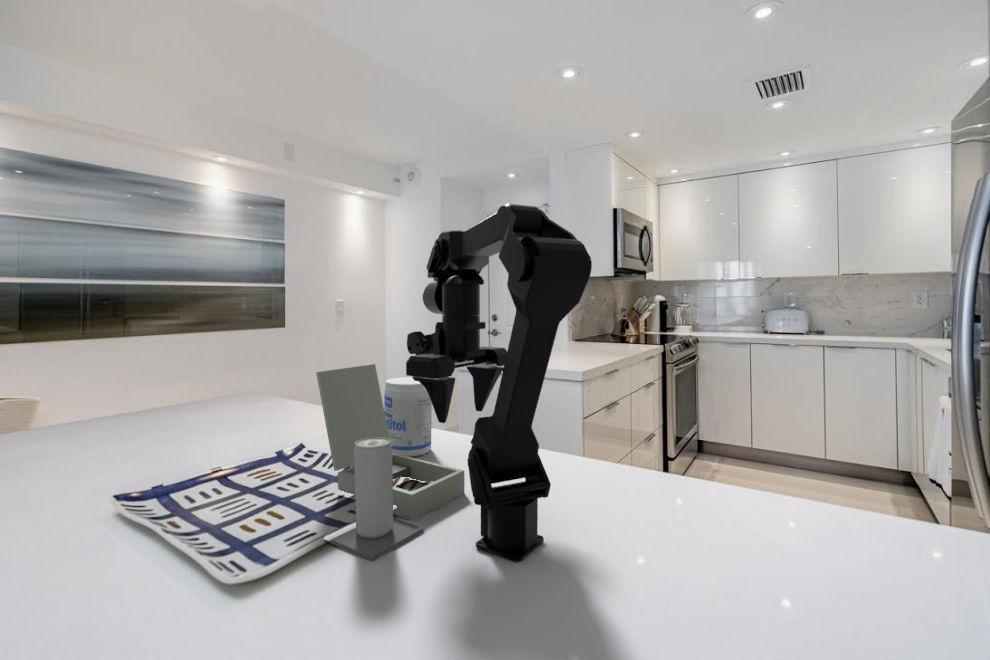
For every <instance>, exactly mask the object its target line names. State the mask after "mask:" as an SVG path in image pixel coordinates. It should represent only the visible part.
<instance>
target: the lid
mask: <svg viewBox="0 0 990 660" xmlns="http://www.w3.org/2000/svg"><path fill="white" fill-rule="evenodd" d="M378 377H379V376H378V372H377V366H376V364H375V363H373V364H367V365H358V366H352V367H351V366H350V367H343V368H337V369H336V368H335V369H329V370H322V371H317V372H316V379H317V385H318V390H319V395H320V401H321V406H322V411H323V416H324V423H325V428H326V434H327V437H328V443H329V444H328V445H329V449H330V454H331V460H332V465H333V472H337V471H339V470H340V471H341V470H343V469H346V468H349V467H350V466H352V465H354V448H355V447H356V446H355V442H356V441H358V440H361V439H364V438H370V437H383V438H388V439H390V438H389V433H388V428H387V422H386V417H385V412H384V403H383V397H382V394H381V387H380V383H379V382H380V381H379V378H378ZM390 444H391V443H390Z"/></svg>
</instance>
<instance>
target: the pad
mask: <svg viewBox="0 0 990 660" xmlns="http://www.w3.org/2000/svg"><path fill="white" fill-rule="evenodd" d="M423 532H424V527H422V526H419V525H416V524H413V523H410V522H407V521H404V520H403V519H402V520H401V519H399V518H396V517H394V516H393V528H392V530H391V531H390V532H389V533H388V534H387V535H385V536H383V537H380V538H376V539H366V538H362V537H361V536H359V534H358V533H357V531H356V529H354V530H352V531H350V532H348V533H346V534H344V535H342V536H340V537H338V538H335V539H333V540H332V541H331V542H328V543H330V544H331V545H334V546H337V547H339V548H340V549H343V550H345V551H347V552H350V553H352V554H354V555H357V556H359V557H362V558H364V559H365V560H368V561H371V562H373V561H375V560H377V559H378V558H380V557H382V556H383V555H385V554H386V553H389V552H391V551H392V550H394V549H395V548H397V547H399V546H401V545H403V544H404V543H406V542H408V541H409V540H411V539H413V538H415V537H416V536H418V535H420V534H421V533H423Z"/></svg>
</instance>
